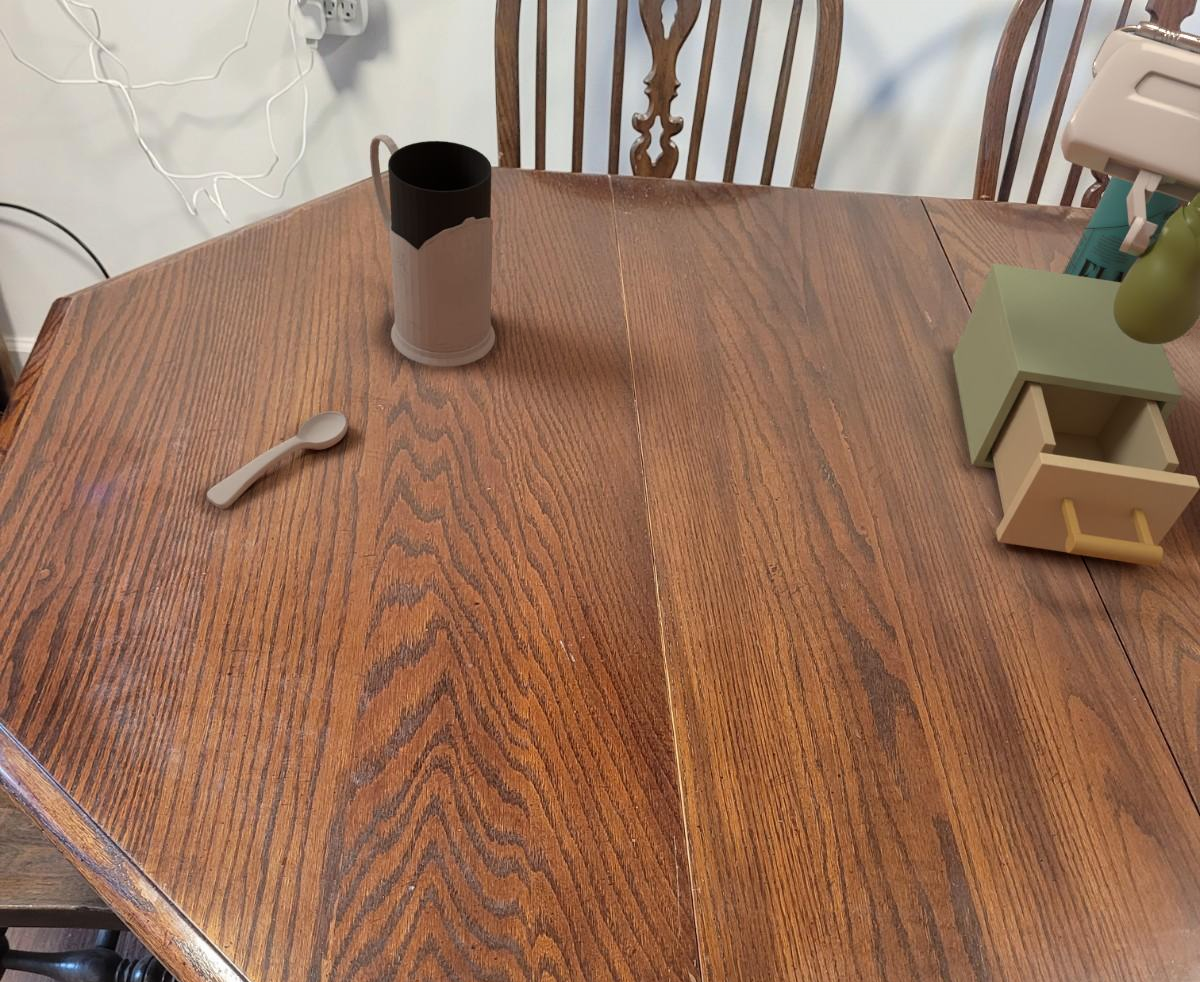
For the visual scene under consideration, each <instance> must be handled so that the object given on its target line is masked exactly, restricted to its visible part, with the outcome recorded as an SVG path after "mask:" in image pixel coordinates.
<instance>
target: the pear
mask: <svg viewBox="0 0 1200 982" xmlns="http://www.w3.org/2000/svg"><path fill="white" fill-rule="evenodd" d="M1114 317H1115V321H1116V323H1117V325H1118V326H1119V328H1120V329H1121V330H1122V331H1123V332H1124V333H1125V334H1126V335H1127V336H1128V337H1130V338H1132V339H1134V340H1136V341H1138V342H1141V343H1146V344H1162V345H1163V344H1167V343H1171V342H1174V341H1176V340H1177V339H1179V338H1181V337H1182V336H1184V335H1185V334H1186V333H1188V332H1189V331H1190V330H1191V329H1192V328H1193V327H1194V326H1195V324H1196V323H1197V321H1198V319H1199V318H1200V193H1198V194H1197V195H1196V196H1195V197H1194V199H1193V200H1192V201H1191V202H1190V203H1188V204H1182V205H1181V206H1180V207H1178V210H1177V209H1176V211H1175V213H1174V214H1173V215H1172V216H1171V217H1170V218H1169V219H1168V220H1167V222H1166V223H1165V225H1164V227H1163V229H1162V231H1161V233H1160V235H1159V237H1158V238H1157V239H1156V240H1155V241H1154V242H1153V243H1152V244H1150V245H1149V246H1148V247H1147V248H1146V250H1145V252H1144V254H1143V255H1142V257H1140V258H1139V257H1138V258H1137V260H1136V261H1135V262H1134V264H1133V265H1132V267H1131V268H1130V270H1129V271H1128V273H1127V274H1126V276H1125V278H1124V279H1123V281H1122V283H1121V285H1120V287H1119V289H1118V291H1117V294H1116V297H1115V300H1114Z"/></svg>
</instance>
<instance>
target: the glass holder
mask: <svg viewBox="0 0 1200 982" xmlns="http://www.w3.org/2000/svg"><path fill="white" fill-rule="evenodd" d="M381 142H382V143H383V144H384V145H385V146H386V148H387V149H388V152H389V153H390V157H389V159H388V163H387V169H388V187H389V188H388V189H389V204H390V205H389V206H390V209H389V206H388V202H387V199H386V195H385V191H384V187H383V186H384V185H383V181H382V175H381V168H380V144H381ZM369 162H370V170H371V179H372V182H373V189H374V194H375V197H376V202H377V205H378V208H379V213H380V215H381V219H382V221H383V225H384V227H385V229H386V232H387V234H388V236H389V241H390V242H389V245H390V246H389V247H390V261H391V280H392V295H393V311H394V323H393V325H392V328H391V332H390V338H391V342H392V344H393V346H394V347H395V348H396V349H397V351H398V352H399V353H400V354H401V355H403V356H404V357H406V358H408V359H409V360H412V361H414V362H416V363H420V364H422V365H426V366H432V367H441V368H442V367H443V368H444V367H445V368H448V367H458V366H463V365H467V364H470V363H474V362H475V361H478V360H480V359H482V358H483V357H484V356H486V355H487V354H488V353H489V352H490V351H491V350H492V348H493V346H494V344H495V341H496V333H495V329H494V327H493V325H492V321H491V319H492V318H491V317H492V316H491V315H492V278H493V277H492V276H493V275H492V274H493V234H494V233H493V229H494V228H493V227H494V221H493V219H492V217H491V214H492V212H491V211H492V163H491V161H490V160H489V159H488V157H487V156H485V155H484V154H483V153H482V152H480V151H479V150H477V149H476V148H473V147H471V146H468V145H465V144H462V143H457V142H453V141H447V140H446V141H445V140H427V141H419V142H414V143H411V144H407V145H405V146H402V147H400V148H399V147H398V145H397V143H396V142H395V141H394V140H393V138H392V137H390V136H389V135H388V134H377V135H375V136H374V137H373V138H372V139H371V141H370V145H369Z"/></svg>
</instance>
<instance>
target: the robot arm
mask: <svg viewBox="0 0 1200 982" xmlns="http://www.w3.org/2000/svg"><path fill="white" fill-rule="evenodd" d="M1091 72H1092V73H1091V74H1092V77H1093V79H1092V81H1091V82H1090V84H1089V85H1088V86H1087V88H1086V90H1085V91H1084V93H1083V94H1082V96H1081V97H1080V99H1079V101H1078V102H1077V105H1076V106H1075V108H1074V110H1073V111H1072V112H1071V114H1070V117H1069V119H1068V120H1067V122H1066V125H1065V127H1064V130H1063V132H1062V135H1061V139H1060V147H1061V151H1062V155H1063V158H1064V160H1065V161H1066V162H1068V163H1072V164H1074V165H1077V166H1079V167H1083V168H1086V169H1088V170H1092V171H1095V172H1097V173H1101V174H1104V175H1107V176H1110V177H1115V178H1118V179H1121V180H1124V181H1127V182H1130V183H1133V186H1132V188H1131V190H1130V192H1129V194H1128V196H1127V198H1126V199H1127V210H1128V220H1129V226H1130V227H1131V228H1130V230H1129V231H1128V233H1127V235H1126V237H1125V239H1124V241H1123V243H1122V245H1121V247H1120V249H1119V251H1122V252H1125V253H1127V254H1130V255H1133V256H1136V257H1139V258H1140V257H1142V255H1143V254H1144V252H1145V250H1146V248H1147V246H1148V245H1149V243H1150V240H1151V238H1152V237H1153V235H1154V233H1155V231H1156V229H1157V227H1158V225H1156V224H1154V223H1151V222H1148V221H1146V220H1147V219H1146V204H1147V203H1148V202H1149V201H1150V199H1151V197H1152V195H1153V194H1154V192H1155V191H1157V192H1160V193H1163V194H1166V195H1169V196H1172V197H1175V198H1178V199H1181V201H1184V202H1186V203H1188V204H1190V202H1191V201H1192V200H1193V199H1194V197H1195V196H1196V195H1197V194H1198V193H1200V35H1197V34H1194V33H1190V32H1186V31H1180V30H1175V29H1170V28H1166V27H1163V26H1161V24H1158V23H1156V22H1153V21H1147V20H1141V21H1139V22H1138V23H1137V24H1128V25H1123V26H1120V27H1119V28H1116V29H1115V30H1113V31H1111V32H1110V33H1109V34H1108V35H1107V36H1106V37H1105V39H1104V40H1103V42H1102V44H1101V45H1100V48H1099V50H1098V51H1097V54H1096V56H1095V57H1094V60H1093V62H1092V67H1091Z"/></svg>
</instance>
